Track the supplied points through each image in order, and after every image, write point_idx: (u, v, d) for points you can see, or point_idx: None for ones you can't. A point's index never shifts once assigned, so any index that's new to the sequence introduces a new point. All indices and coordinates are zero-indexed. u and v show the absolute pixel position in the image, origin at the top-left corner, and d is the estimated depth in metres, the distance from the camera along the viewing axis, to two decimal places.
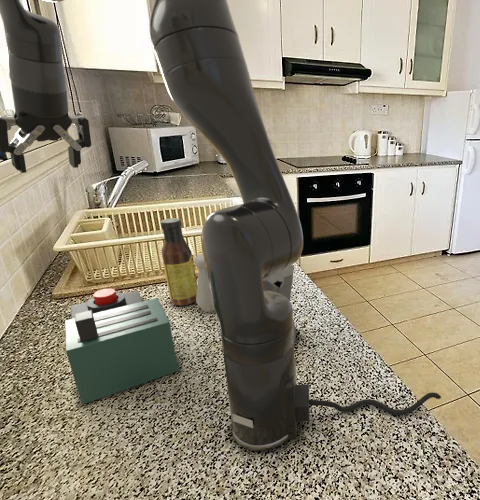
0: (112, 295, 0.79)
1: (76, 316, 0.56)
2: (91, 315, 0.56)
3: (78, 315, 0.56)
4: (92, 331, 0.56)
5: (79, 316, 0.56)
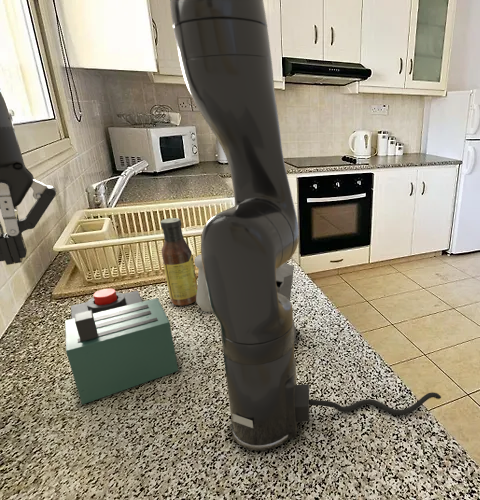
0: (112, 295, 0.79)
1: (76, 316, 0.56)
2: (91, 315, 0.56)
3: (78, 315, 0.56)
4: (92, 331, 0.56)
5: (79, 316, 0.56)
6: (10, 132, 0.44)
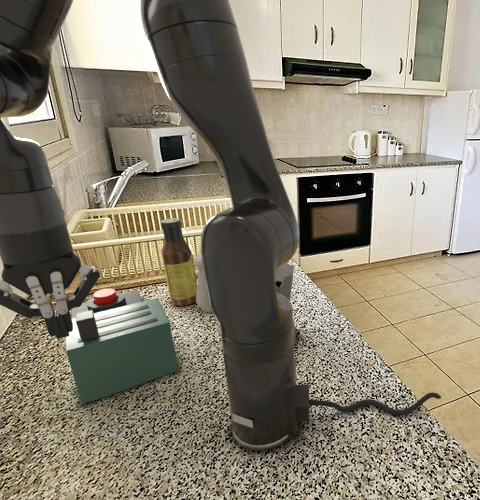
0: (112, 295, 0.79)
1: (77, 315, 0.56)
2: (92, 315, 0.56)
3: (79, 315, 0.56)
4: (93, 331, 0.56)
5: (80, 316, 0.56)
6: (64, 228, 0.50)
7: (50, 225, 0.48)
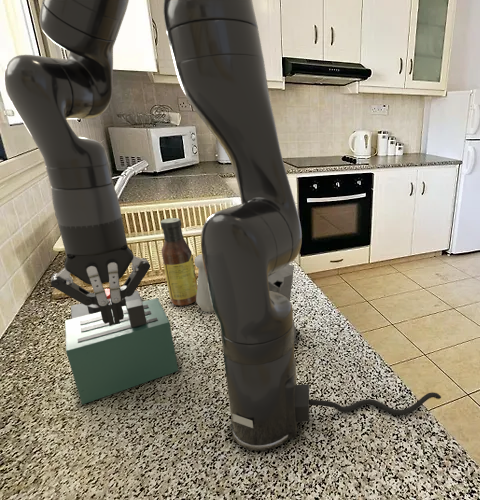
0: None
1: (127, 303, 0.59)
2: (141, 303, 0.60)
3: (129, 303, 0.60)
4: (142, 318, 0.60)
5: (130, 304, 0.59)
6: (121, 221, 0.54)
7: (111, 219, 0.51)
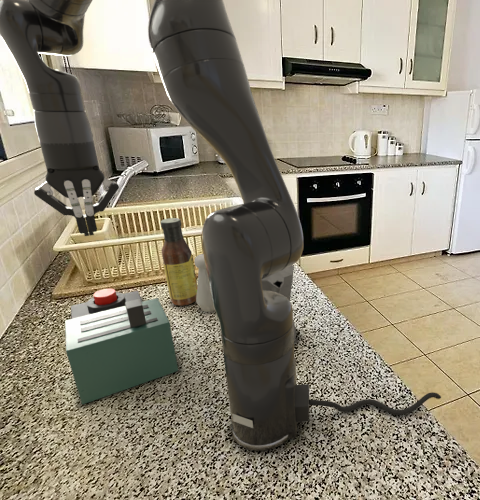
0: (112, 295, 0.79)
1: (127, 303, 0.59)
2: (140, 303, 0.60)
3: (128, 303, 0.59)
4: (141, 318, 0.60)
5: (129, 304, 0.59)
6: (92, 145, 0.65)
7: (83, 140, 0.63)
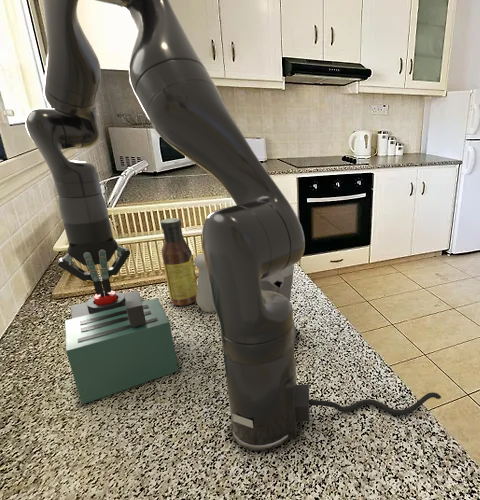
0: (112, 297, 0.79)
1: (127, 303, 0.59)
2: (140, 303, 0.60)
3: (128, 303, 0.59)
4: (141, 318, 0.60)
5: (129, 304, 0.59)
6: (108, 220, 0.75)
7: (100, 218, 0.72)
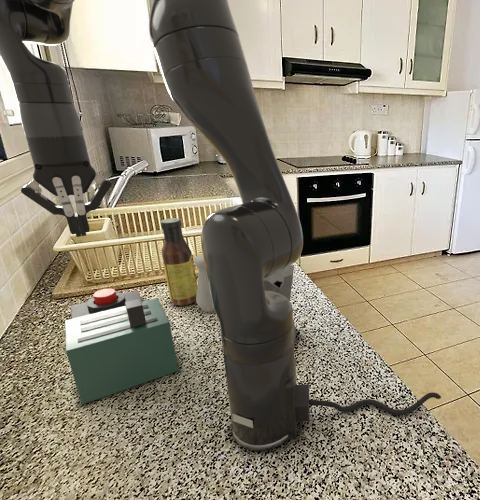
0: (112, 295, 0.79)
1: (127, 303, 0.59)
2: (140, 303, 0.60)
3: (128, 303, 0.59)
4: (141, 318, 0.60)
5: (129, 304, 0.59)
6: (82, 139, 0.61)
7: (71, 133, 0.59)
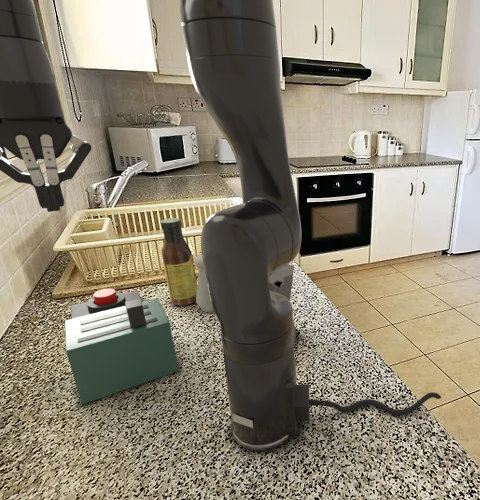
0: (112, 295, 0.79)
1: (127, 303, 0.59)
2: (140, 303, 0.60)
3: (128, 303, 0.59)
4: (141, 318, 0.60)
5: (129, 304, 0.59)
6: (54, 89, 0.49)
7: (39, 79, 0.47)
